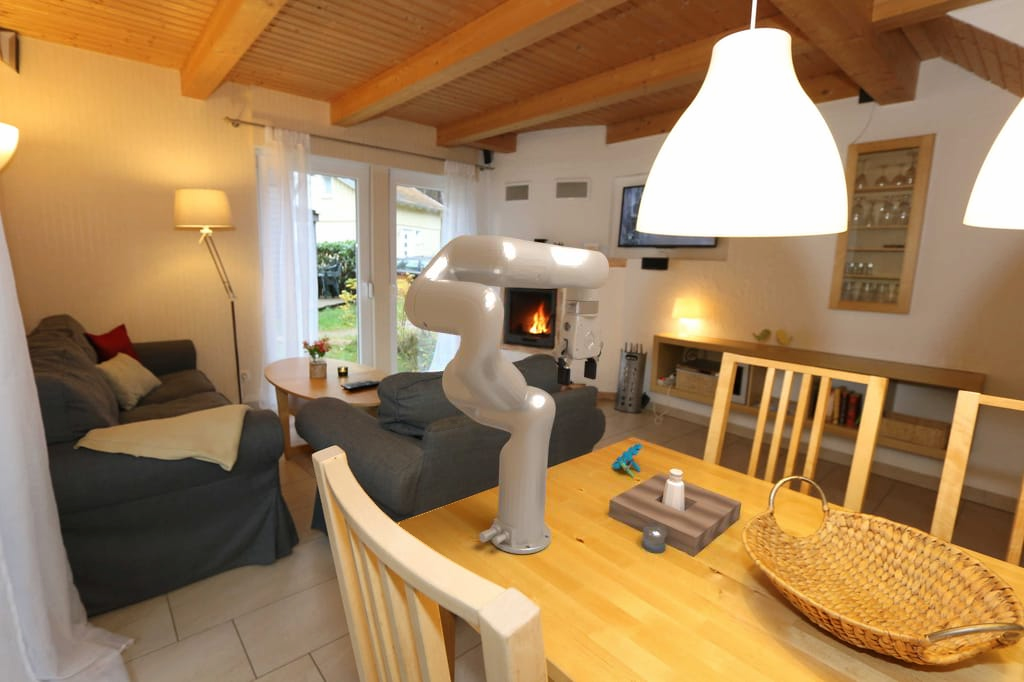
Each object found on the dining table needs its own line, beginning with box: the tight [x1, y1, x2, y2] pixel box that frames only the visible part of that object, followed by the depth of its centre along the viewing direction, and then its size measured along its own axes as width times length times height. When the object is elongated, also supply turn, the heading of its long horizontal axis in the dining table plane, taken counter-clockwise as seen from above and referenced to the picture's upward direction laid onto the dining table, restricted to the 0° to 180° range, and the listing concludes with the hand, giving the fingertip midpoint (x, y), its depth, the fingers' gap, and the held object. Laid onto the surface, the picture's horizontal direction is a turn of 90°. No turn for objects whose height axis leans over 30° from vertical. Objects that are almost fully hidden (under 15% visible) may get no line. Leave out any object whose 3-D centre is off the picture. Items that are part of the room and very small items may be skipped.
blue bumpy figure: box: [611, 442, 643, 478], centre depth 136 cm, size 11×6×10 cm
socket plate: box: [608, 472, 742, 558], centre depth 112 cm, size 22×20×4 cm
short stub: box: [641, 523, 667, 555], centre depth 100 cm, size 5×5×4 cm
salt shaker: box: [662, 468, 684, 512], centre depth 112 cm, size 5×5×11 cm
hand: (576, 381), depth 116 cm, fingers open, 9 cm apart
